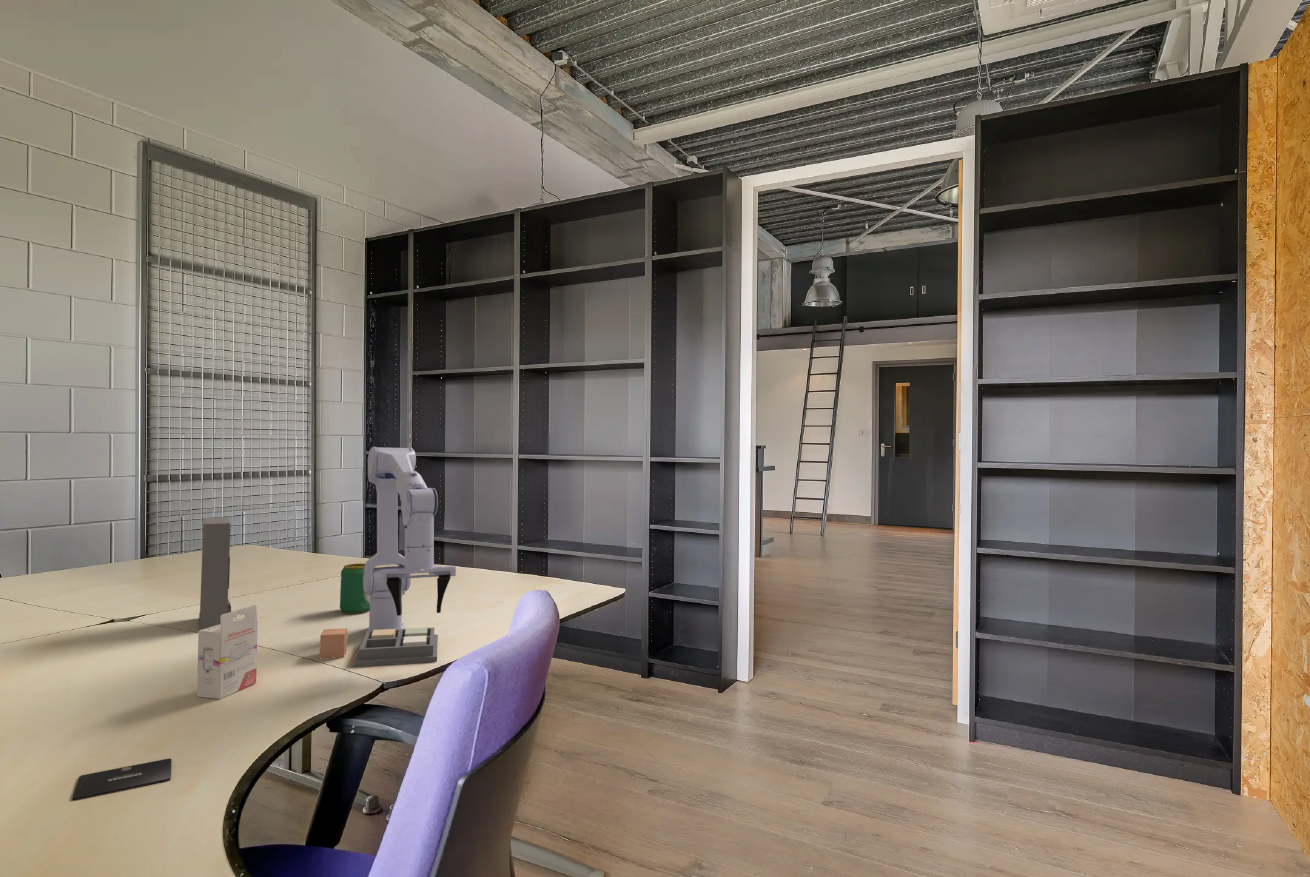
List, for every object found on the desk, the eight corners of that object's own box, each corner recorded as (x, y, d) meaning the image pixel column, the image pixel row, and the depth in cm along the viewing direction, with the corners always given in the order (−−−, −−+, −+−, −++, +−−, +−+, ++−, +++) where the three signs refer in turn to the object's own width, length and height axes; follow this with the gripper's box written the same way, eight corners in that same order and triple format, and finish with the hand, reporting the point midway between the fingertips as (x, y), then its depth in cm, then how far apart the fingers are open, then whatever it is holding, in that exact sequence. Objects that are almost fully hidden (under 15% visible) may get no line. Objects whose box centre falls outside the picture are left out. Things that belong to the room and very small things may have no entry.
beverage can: (364, 615, 178) (366, 568, 178) (334, 614, 178) (335, 567, 178) (377, 607, 186) (378, 563, 186) (348, 606, 186) (349, 562, 186)
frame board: (363, 642, 154) (363, 627, 154) (437, 638, 158) (438, 623, 158) (353, 666, 137) (354, 649, 137) (436, 661, 142) (437, 644, 142)
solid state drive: (79, 780, 90) (79, 775, 90) (171, 762, 96) (171, 757, 96) (71, 804, 85) (72, 798, 85) (170, 783, 90) (170, 778, 90)
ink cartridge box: (234, 680, 128) (237, 602, 128) (257, 683, 127) (259, 604, 127) (194, 697, 119) (197, 612, 119) (218, 700, 118) (221, 615, 118)
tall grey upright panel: (230, 628, 162) (234, 523, 162) (199, 631, 158) (203, 524, 159) (228, 615, 173) (231, 517, 174) (199, 618, 170) (202, 517, 170)
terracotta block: (323, 652, 146) (324, 629, 146) (346, 651, 147) (347, 628, 147) (319, 659, 142) (320, 635, 142) (343, 657, 143) (344, 633, 143)
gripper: (379, 549, 136) (378, 619, 134) (455, 546, 139) (455, 613, 138) (384, 547, 143) (383, 613, 141) (456, 544, 146) (456, 609, 145)
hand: (419, 613), depth 140 cm, fingers open, 7 cm apart
